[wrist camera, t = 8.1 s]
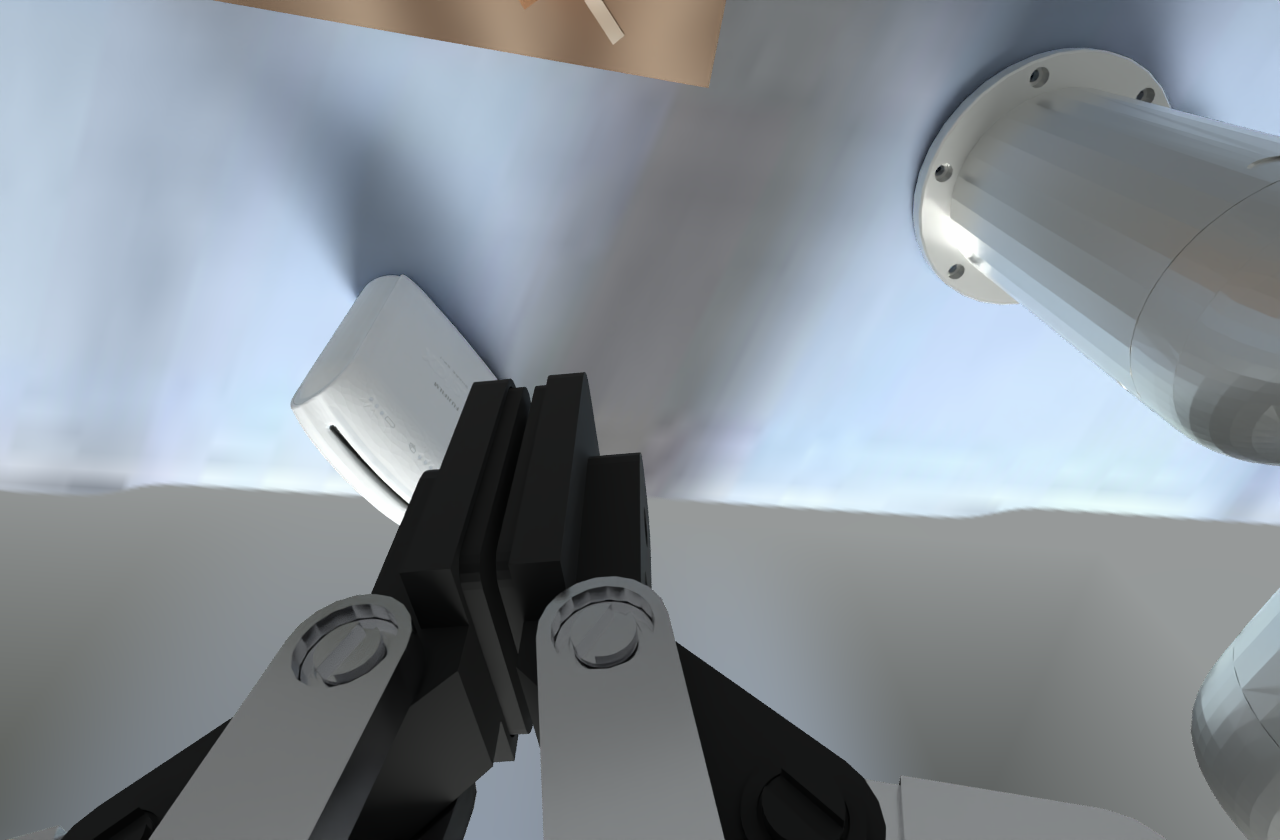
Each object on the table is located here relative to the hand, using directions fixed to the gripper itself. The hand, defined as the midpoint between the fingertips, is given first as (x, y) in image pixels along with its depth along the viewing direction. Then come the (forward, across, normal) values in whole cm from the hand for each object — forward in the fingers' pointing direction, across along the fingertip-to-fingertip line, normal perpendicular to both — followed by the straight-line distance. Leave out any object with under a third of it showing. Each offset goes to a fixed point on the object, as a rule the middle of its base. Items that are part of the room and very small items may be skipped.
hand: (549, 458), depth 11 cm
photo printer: (+27, +11, +11) cm, 31 cm away
